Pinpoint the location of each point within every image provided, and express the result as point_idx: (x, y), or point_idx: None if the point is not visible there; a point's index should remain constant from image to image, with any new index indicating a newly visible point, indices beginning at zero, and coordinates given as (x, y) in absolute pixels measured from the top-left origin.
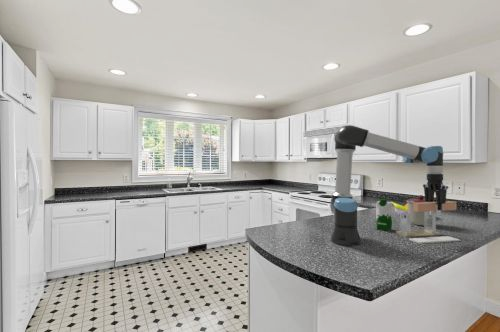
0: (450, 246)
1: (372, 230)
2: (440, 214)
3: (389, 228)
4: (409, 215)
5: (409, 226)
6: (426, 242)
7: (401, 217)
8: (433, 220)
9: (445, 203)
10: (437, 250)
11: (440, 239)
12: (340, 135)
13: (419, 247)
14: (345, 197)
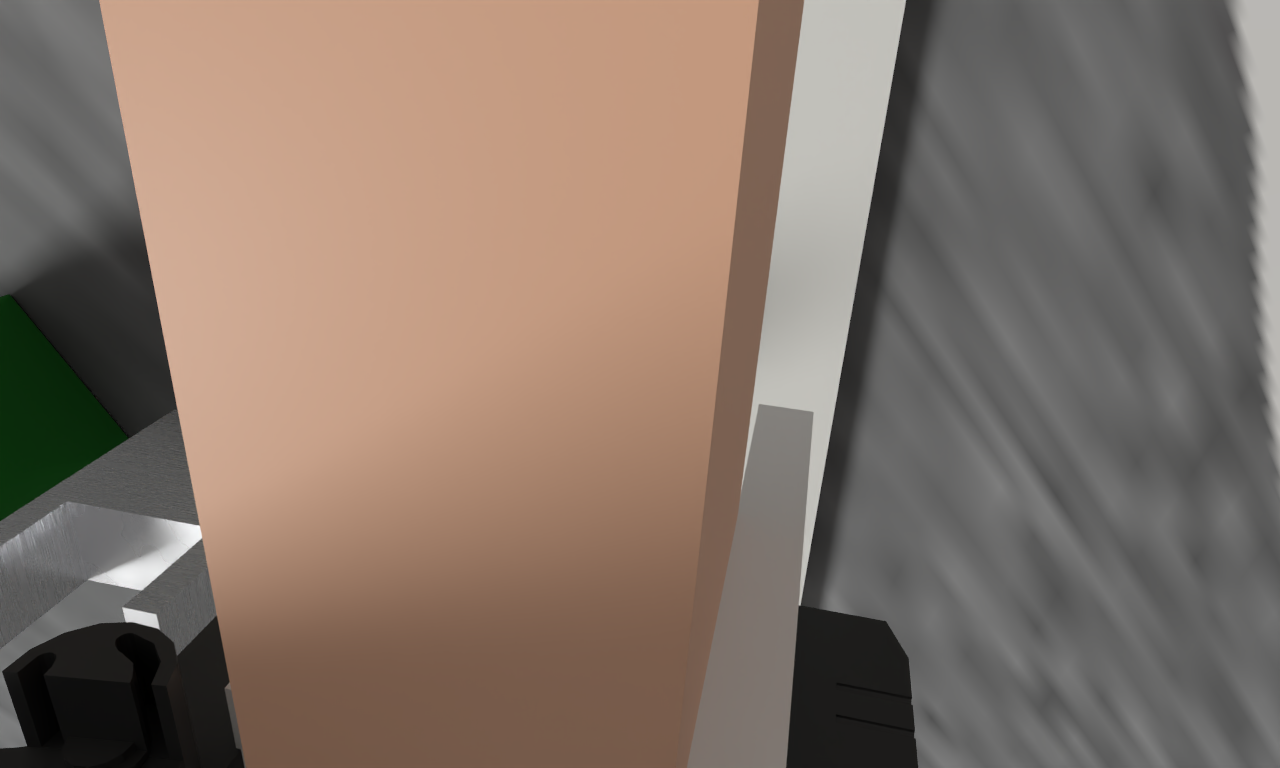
0: (1100, 327)
1: (90, 601)
2: (809, 454)
3: (85, 438)
4: (185, 628)
5: None
6: (814, 523)
7: (78, 573)
8: None
9: (743, 267)
10: (1118, 693)
11: (793, 153)
12: None
13: (918, 762)
14: None
